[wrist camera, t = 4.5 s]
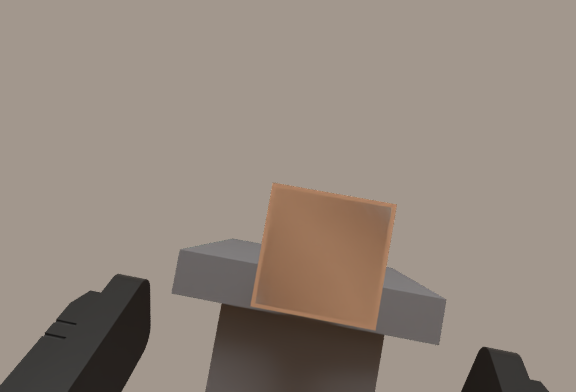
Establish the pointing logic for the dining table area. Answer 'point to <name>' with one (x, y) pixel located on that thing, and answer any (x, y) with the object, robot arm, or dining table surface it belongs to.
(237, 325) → the pedestal
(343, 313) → the bar
